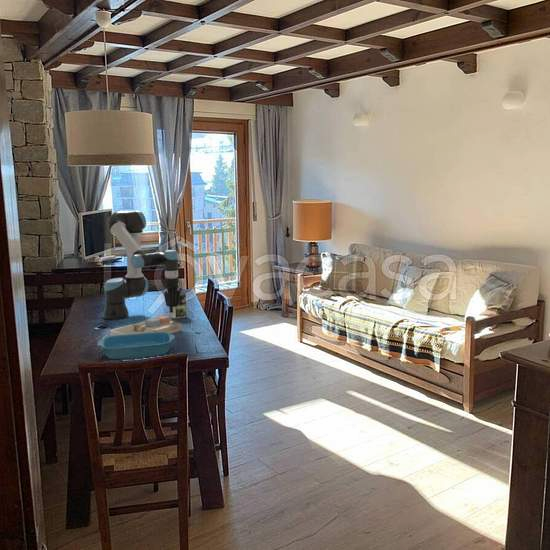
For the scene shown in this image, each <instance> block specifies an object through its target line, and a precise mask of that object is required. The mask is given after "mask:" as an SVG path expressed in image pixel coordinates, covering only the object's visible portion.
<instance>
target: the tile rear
mask: <svg viewBox="0 0 550 550" xmlns="http://www.w3.org/2000/svg"><path fill="white" fill-rule="evenodd" d="M154 318H156V319H161V324H165V323H169V322H170V321H171V317H170V316H167V315H160V316H157V317H154Z"/></svg>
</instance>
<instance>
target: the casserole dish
mask: <svg viewBox="0 0 550 550" xmlns="http://www.w3.org/2000/svg"><path fill="white" fill-rule="evenodd" d="M175 339H176V336H175V335H174V334H173V333H170V334H169V333H166V332H153V333H140V334H126V335H115V336H109V335H108V336H106V337H104V338H103V339H101V340H99V341H97V346H98V347H101V348H102V349H103V353H104V354H105V356H106V357H107V358H108V359H110V360H125V359H135V358H148V357H150V358H151V357H158V356H163V355H166V354H167V353H168V352H169V350H170V347H171V342H172V341H173V340H175Z"/></svg>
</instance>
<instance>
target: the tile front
mask: <svg viewBox="0 0 550 550" xmlns="http://www.w3.org/2000/svg"><path fill="white" fill-rule="evenodd" d="M144 321H145V325H146V326H150V327H154V326H158V325H161V319H156V318H155V317H151V318H148V319H147V318H146V319H145V320H144Z"/></svg>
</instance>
